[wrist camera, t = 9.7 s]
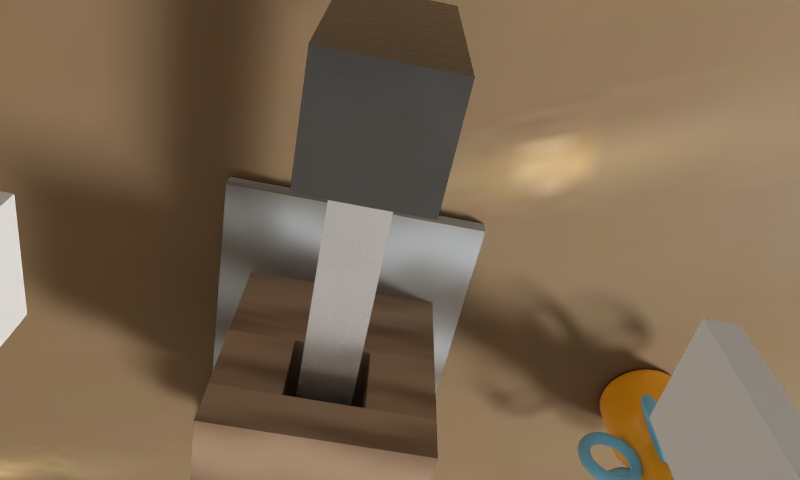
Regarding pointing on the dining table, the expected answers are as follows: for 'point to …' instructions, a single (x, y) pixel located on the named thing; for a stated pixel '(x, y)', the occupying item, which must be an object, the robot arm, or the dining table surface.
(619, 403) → the cylinder
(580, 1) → the dining table surface
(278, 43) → the dining table surface
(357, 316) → the grey mallet
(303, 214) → the block
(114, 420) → the dining table surface
